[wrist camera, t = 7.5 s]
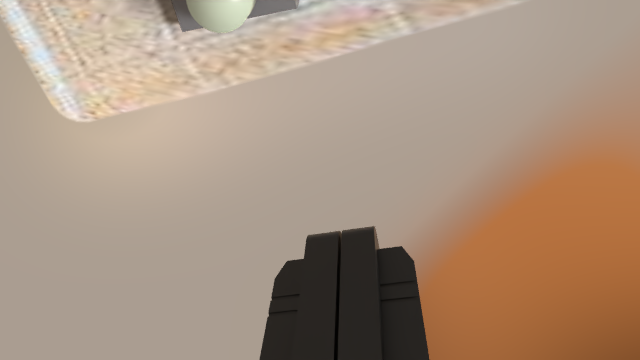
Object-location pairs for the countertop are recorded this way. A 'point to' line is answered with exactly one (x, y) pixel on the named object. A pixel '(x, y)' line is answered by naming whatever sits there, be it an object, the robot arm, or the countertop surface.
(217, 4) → the sage button
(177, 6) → the button panel
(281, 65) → the countertop surface
